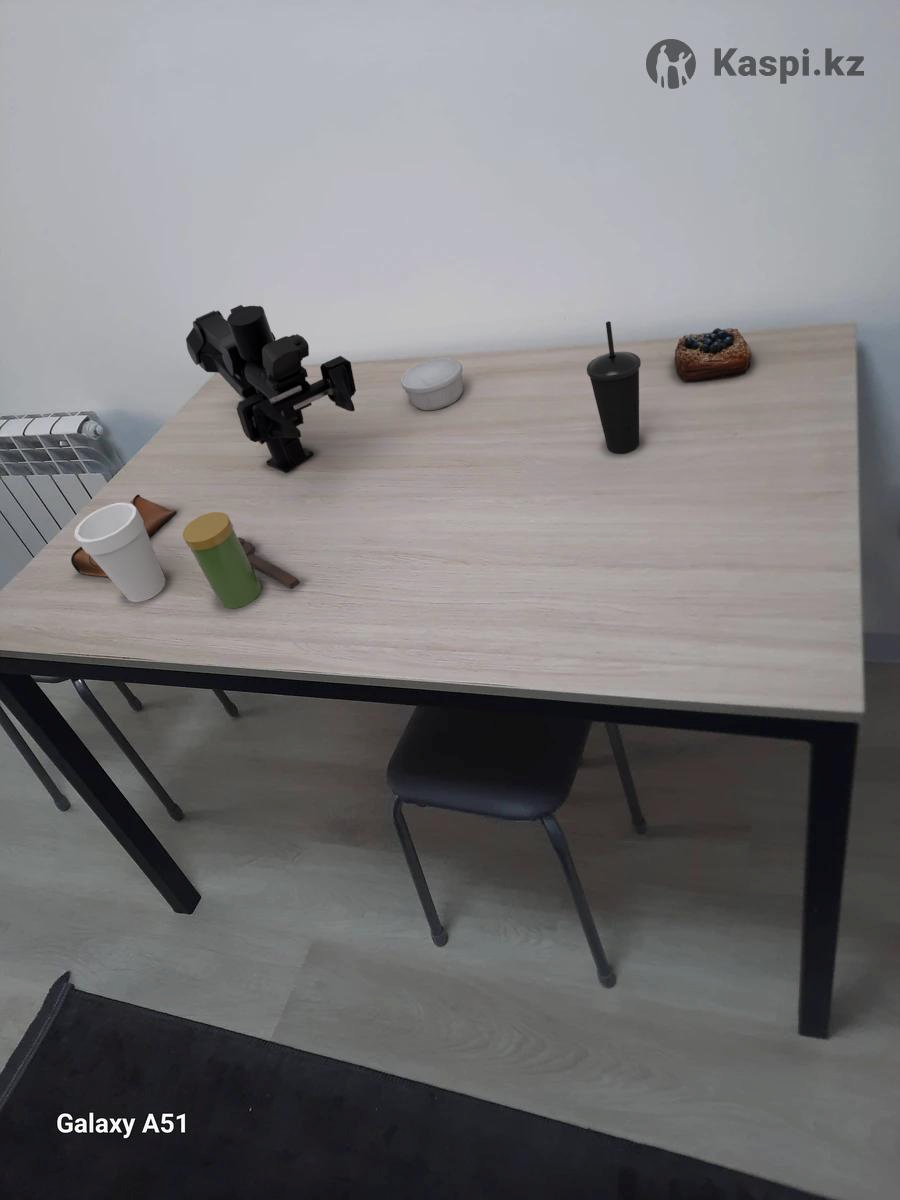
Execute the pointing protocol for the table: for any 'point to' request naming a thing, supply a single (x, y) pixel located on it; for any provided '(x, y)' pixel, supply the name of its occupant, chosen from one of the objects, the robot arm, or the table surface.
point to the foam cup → (122, 550)
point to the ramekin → (433, 383)
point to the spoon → (267, 566)
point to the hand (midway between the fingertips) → (326, 421)
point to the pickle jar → (222, 559)
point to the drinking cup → (617, 396)
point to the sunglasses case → (153, 522)
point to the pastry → (712, 356)
